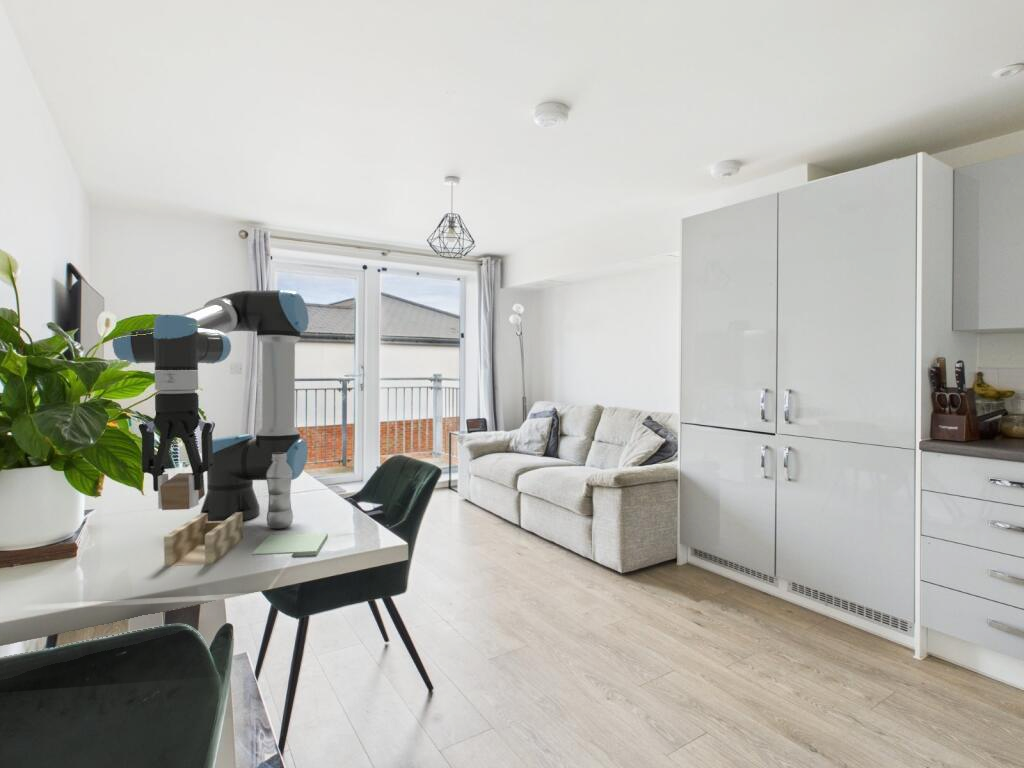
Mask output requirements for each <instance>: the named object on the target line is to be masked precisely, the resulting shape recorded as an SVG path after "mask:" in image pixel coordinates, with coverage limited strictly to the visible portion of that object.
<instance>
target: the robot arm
mask: <svg viewBox="0 0 1024 768" xmlns="http://www.w3.org/2000/svg"><path fill="white" fill-rule="evenodd" d="M306 304H307V303H306V302H305V301H304V298H303V297H302V295H301V294H299V293H298V292H296V291H295V290H294V291H293V290H282V289H280V290H277V289H276V290H242V291H241V290H240V291H236V292H232V293H228V294H225V295H222V296H220V297H216V298H212V299H210V300H208V301H207V302H206V303H205V304H204V305H203V306H202V307H199V308H196V309H195V310H192V311H189V312H185V313H183V314H159V315H157V316H155V317H154V322H153V323H154V324H153V325H154V329H146V330H144V329H140V330H135V331H130V332H125V333H132V334H124V335H122V336H126V335H136V334H146V333H151V332H154V333H152V334H146V335H137V336H127V337H121V338H117V339H112V348H113V354H114V355H115V357H116V358H117V359H119V360H120V361H121V360H127V361H130V362H129V363H134V364H154V390H155V391H156V392H158V393H156V394H155V395H154V411H155V416H154V417H153V420H151V421H149V422H144V423H140V424H138V430H139V431H140V434H141V471H142V473H144V474H150V475H151V476H152V479H153V480H152V485H153V486H152V487H153V491H154V492H157V496H158V497H157V501H158V502H157V504H158V505H157V507H158V509H161V510H162V501H161V489H160V486H161V485H163V484H164V483H165V482H167V481H168V480H169V473H166V470H165V469H166V464H167V462H168V457H169V454H170V450H171V446H172V443H173V442H174V439H175V438H177V439H181V441H182V443H183V444H184V448H185V452H186V455H187V458H188V461H189V464H190V467H191V471H192V472H190V473H191V475H189V508H190V509H193V508H195V507H197V506H198V505H199V504H200V503H199V502H200V500H199V490H200V489H202V488H203V476H204V473H205V472H206V484H207V485H206V486H207V487H206V488H207V490H206V491H207V492H206V494H205V496H204V497H205V498H204V500H203V503H202V506H201V510H200V513H199V514H202V513H208V521H225V520H226V519H228V518H229V517H230V516H232V515H233V514H234V513H236V512H242V521H246V520H251V519H253V518H255V517H257V516H259V515H260V513H261V512H260V504H259V501H258V498H257V495H256V493H255V490H254V481H267V478H266V473H267V470H268V468H269V467H270V465H271V464H272V462H273V461H272V460H271V459H272V453H277V452H286V453H287V460H286V462H287V464H288V465H289V466H290V468H291V470H292V480H291V481H293V480H296V479H297V478H299V477H300V476H301V474H302V473H303V471H304V469H305V468H306V464H307V460H308V454H309V450H308V444H307V441H306V440H305V439H303V438H301V433H300V430H298V429H297V428H296V427H295V413H296V411H295V401H296V398H295V392H296V391H295V389H296V387H295V380H296V362H295V361H296V343H298V342H299V341H300V340H301V337H302V335H301V333H303V332H305V331H307V330H308V326H309V312H308V308H307V305H306ZM192 322H193V323H192ZM195 323H198V324H200V326H197V325H189V324H195ZM136 332H138V333H136ZM230 332H253V333H254V332H255V333H256V338H257V339H258V340H259V341H260V342H261V345H262V347H261V348H262V349H261V350H262V359H261V361H262V364H261V366H262V369H261V371H262V372H261V374H262V375H261V377H262V381H261V385H262V386H261V396H262V397H261V400H262V401H261V428H260V429H259V430H258V431H257V432H256V433H255V438H254V436H253V434H252V433H243V434H236V435H235V434H234V435H230V436H229V435H227V436H223V437H218V438H214V439H213V431H214V429H215V426H216V424H215V422H214V421H206V420H203V419H202V417H201V416H200V413H199V408H200V407H199V394H198V392H196V391H198V390H199V364H212V365H213V364H217V363H221V362H223V361H225V360H226V359H227V358H228V357H229V355H230V354H231V350H232V345H231V343H232V342H231V340H230V339H229V337H228V335H226V334H229V333H230ZM117 337H119V336H117ZM159 391H160V392H159ZM198 427H199V430H200V432H201V435H200V439H201V441H200V442H201V443H200V445H201V454H200V452H199V448H198V445H197V440H196V439H197V438H196V435H195V431H196V430H197V428H198ZM156 428H157V429H158V430H159V432H160V436H159V441H158V443H159V445H158V448H157V452H156V454H155V431H156Z"/></svg>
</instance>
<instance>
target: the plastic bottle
mask: <svg viewBox="0 0 1024 768" xmlns="http://www.w3.org/2000/svg"><path fill="white" fill-rule="evenodd" d="M271 460H272V461H273V462H272V464H271V465H270V467H269V468H268V470H267V473H266V478H267V480H266V482H267V488H268V489H267V492H268V505H267V507H268V508H267V514H266V524H267V526H268V527H269V528H270V529H276V530H277V529H279V530H280V529H285V528H288V527H290V526H291V525H292V524H293V520H294V514H293V509H292V500H291V491H292V489H291V488H292V481H293V480H292V470H291V468H290V466H289V465H288V464H287V462H286V460H287V453H286V452H277V453H272V459H271Z"/></svg>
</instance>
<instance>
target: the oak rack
mask: <svg viewBox="0 0 1024 768" xmlns="http://www.w3.org/2000/svg"><path fill="white" fill-rule="evenodd" d="M243 534H244V532H243V520H242V512H236V513H234V514H233V515H232V516H230V517H229V518H228V519H226V520H225V521H208V513H202V514H200V513H199V514H197V515H196V516H194V517H193V518H192V519H190V520H189V521H187V522H185V523H184V524H181V526H179V527H178V528H176V529H174V530H173V531H171V532H169V533H168V534H166V535H165V536H163V546H164V547H163V553H164V555H163V556H164V560H163V561H164V562H163V564H164V565H163V566H164V567H177V566H180V567H181V566H199V565H200V566H201V565H213V564H215V562H217V561H218V560H219V559H220V558H221V557H223V556H224V554H226V553H227V552H228V551H229V550H230V549H231V548H233V546H235V545H236V544H237V543H239V541H240V540H242V539H243Z"/></svg>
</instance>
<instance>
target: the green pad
mask: <svg viewBox="0 0 1024 768" xmlns="http://www.w3.org/2000/svg"><path fill="white" fill-rule="evenodd" d="M328 537H329V534H328V532H322V533H321V532H318V533H294V534H271V535H270V534H269V535H268V536H267V537H266V538H265V539H264V540H263V541H262V542H261V543H260V544H259V545H258V546H257V547H256V548H255V549H254V551H252V553H251V556H253V555H254V556H256V555H257V556H258V555H279V554H291V557H307V556H308V555H309V556H308V557H310V556H317V555H318V553H320V551H321V549H322V547H323V546H322V545H324V544H325V542H326V541H327V539H328ZM325 540H326V541H325Z"/></svg>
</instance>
